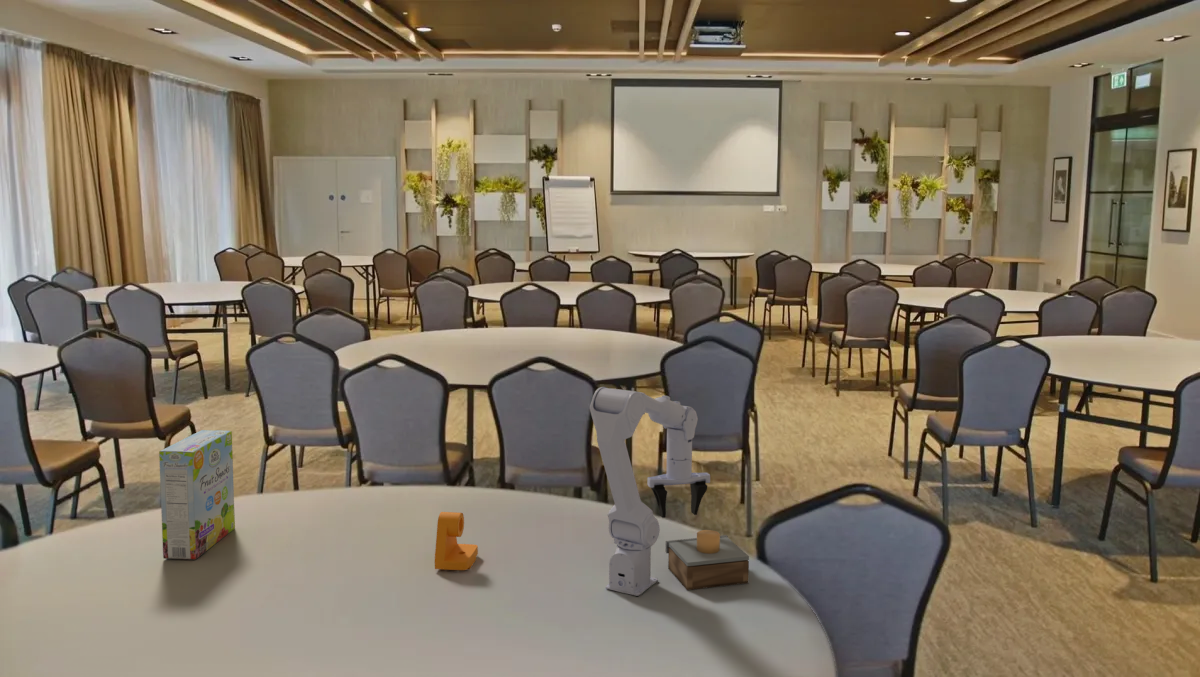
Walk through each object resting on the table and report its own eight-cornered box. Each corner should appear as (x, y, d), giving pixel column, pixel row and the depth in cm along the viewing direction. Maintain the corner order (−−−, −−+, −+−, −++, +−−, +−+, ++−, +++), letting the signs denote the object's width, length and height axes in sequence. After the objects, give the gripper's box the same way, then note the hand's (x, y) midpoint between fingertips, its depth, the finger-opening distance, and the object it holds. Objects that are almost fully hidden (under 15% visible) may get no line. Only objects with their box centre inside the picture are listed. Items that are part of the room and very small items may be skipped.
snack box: (199, 561, 209) (192, 451, 206) (161, 560, 209) (154, 451, 206) (238, 528, 231) (233, 428, 227) (204, 528, 231) (198, 428, 227)
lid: (750, 567, 196) (750, 556, 196) (685, 574, 193) (686, 562, 192) (726, 546, 209) (726, 535, 209) (665, 552, 205) (665, 541, 205)
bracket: (466, 574, 202) (465, 521, 200) (434, 572, 203) (433, 520, 201) (478, 555, 213) (477, 506, 211) (448, 554, 213) (447, 504, 212)
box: (748, 583, 197) (748, 561, 196) (687, 590, 193) (687, 567, 193) (726, 562, 208) (726, 541, 208) (668, 568, 205) (668, 547, 204)
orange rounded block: (714, 555, 197) (714, 539, 196) (692, 550, 199) (693, 535, 198) (723, 547, 201) (723, 532, 200) (702, 543, 203) (702, 528, 203)
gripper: (702, 450, 213) (701, 506, 215) (643, 454, 209) (642, 511, 211) (714, 458, 206) (713, 516, 208) (653, 463, 203) (652, 521, 205)
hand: (678, 514), depth 209 cm, fingers open, 7 cm apart
